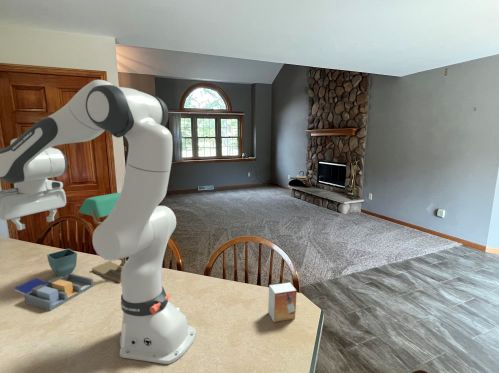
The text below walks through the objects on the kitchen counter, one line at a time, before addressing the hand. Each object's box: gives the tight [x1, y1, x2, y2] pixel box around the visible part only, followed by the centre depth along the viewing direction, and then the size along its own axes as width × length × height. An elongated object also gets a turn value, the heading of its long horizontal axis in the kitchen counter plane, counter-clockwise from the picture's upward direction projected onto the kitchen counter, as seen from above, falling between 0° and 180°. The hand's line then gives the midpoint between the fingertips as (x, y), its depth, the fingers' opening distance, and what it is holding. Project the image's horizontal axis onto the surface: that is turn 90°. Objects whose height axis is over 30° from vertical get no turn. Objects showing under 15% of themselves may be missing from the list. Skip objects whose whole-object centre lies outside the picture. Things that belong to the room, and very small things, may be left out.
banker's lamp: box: [78, 192, 127, 284], centre depth 117 cm, size 16×21×35 cm
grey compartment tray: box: [23, 272, 94, 312], centre depth 102 cm, size 13×17×3 cm
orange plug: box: [47, 277, 73, 295], centre depth 102 cm, size 9×3×4 cm, turn 71°
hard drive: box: [13, 278, 48, 295], centre depth 106 cm, size 2×8×12 cm
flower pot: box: [46, 248, 78, 277], centre depth 118 cm, size 9×9×9 cm
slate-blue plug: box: [32, 285, 59, 303], centre depth 97 cm, size 9×3×4 cm, turn 70°
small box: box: [267, 282, 298, 323], centre depth 91 cm, size 8×6×10 cm
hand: (36, 225), depth 93 cm, fingers open, 8 cm apart
